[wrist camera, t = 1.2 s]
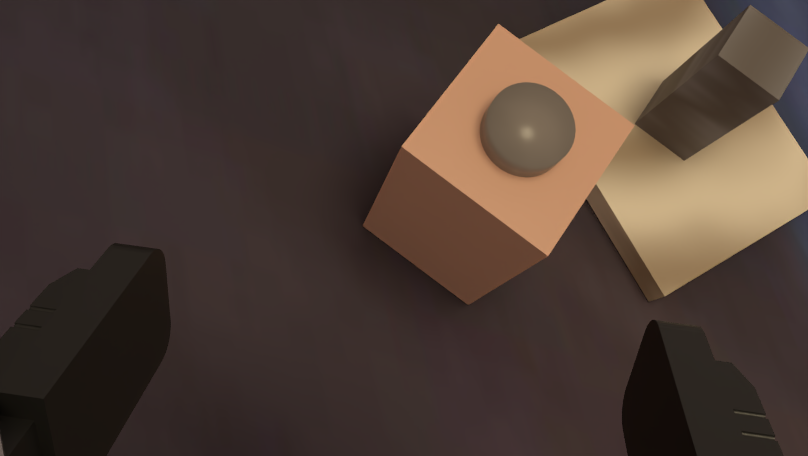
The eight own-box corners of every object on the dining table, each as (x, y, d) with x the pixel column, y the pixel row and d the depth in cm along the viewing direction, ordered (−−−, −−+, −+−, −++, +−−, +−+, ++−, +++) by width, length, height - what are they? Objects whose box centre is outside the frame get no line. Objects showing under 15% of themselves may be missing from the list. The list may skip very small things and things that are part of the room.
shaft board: (501, 57, 38) (566, -44, 30) (666, -17, 41) (766, -128, 33) (648, 301, 36) (761, 264, 28) (810, 203, 39) (955, 144, 31)
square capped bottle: (362, 226, 34) (406, 135, 24) (436, 131, 36) (507, 8, 25) (467, 304, 34) (559, 248, 24) (536, 206, 36) (648, 113, 25)
